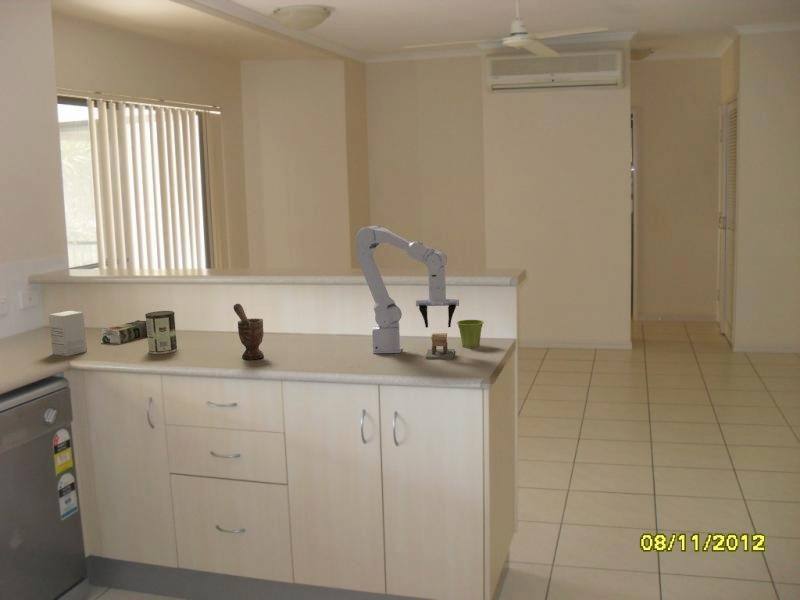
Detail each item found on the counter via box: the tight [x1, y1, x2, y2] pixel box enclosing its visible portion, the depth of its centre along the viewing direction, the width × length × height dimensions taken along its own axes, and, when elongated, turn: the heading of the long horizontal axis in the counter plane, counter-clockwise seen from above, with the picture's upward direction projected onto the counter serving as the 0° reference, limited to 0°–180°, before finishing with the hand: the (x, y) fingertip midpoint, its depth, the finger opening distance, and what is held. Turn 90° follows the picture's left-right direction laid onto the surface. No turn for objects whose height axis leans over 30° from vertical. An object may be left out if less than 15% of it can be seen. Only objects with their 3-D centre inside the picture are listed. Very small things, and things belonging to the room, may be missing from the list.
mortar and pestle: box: [233, 303, 265, 361], centre depth 304 cm, size 12×9×20 cm
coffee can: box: [144, 310, 178, 355], centre depth 323 cm, size 10×10×14 cm
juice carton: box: [101, 319, 148, 345], centre depth 350 cm, size 20×10×6 cm, turn 152°
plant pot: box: [456, 319, 484, 349], centre depth 313 cm, size 9×9×9 cm
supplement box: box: [48, 310, 88, 357], centre depth 325 cm, size 9×9×15 cm
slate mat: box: [425, 348, 455, 360], centre depth 301 cm, size 9×12×1 cm
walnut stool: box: [430, 332, 449, 355], centre depth 300 cm, size 6×5×6 cm
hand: (438, 326), depth 301 cm, fingers open, 7 cm apart
